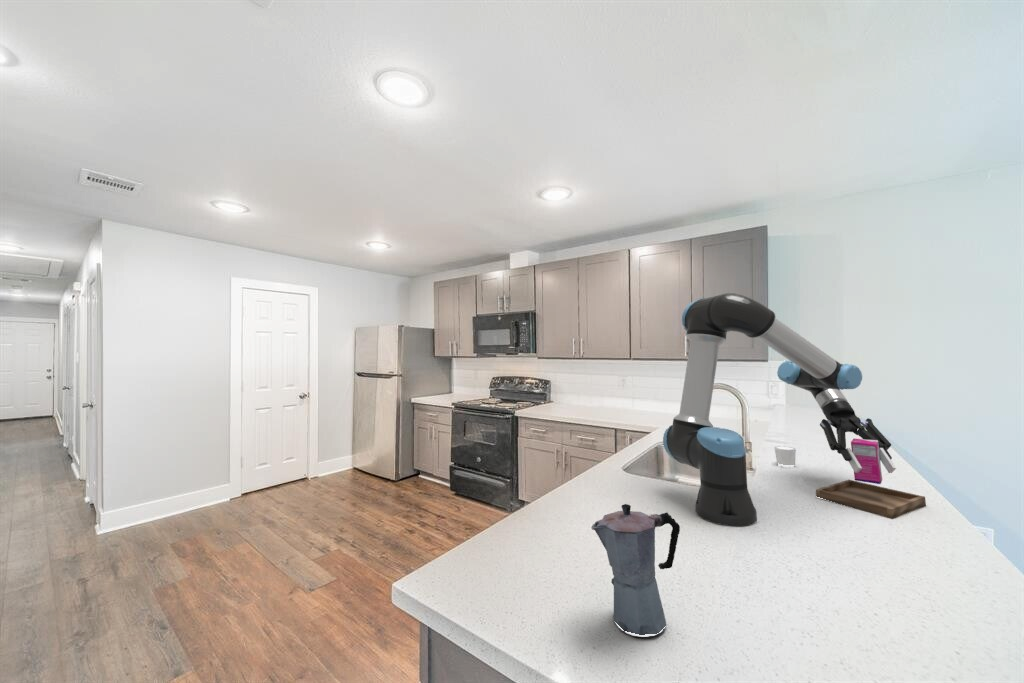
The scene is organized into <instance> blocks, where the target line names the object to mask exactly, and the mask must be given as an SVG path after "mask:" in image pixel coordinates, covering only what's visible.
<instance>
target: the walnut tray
mask: <svg viewBox="0 0 1024 683" xmlns="http://www.w3.org/2000/svg"><path fill="white" fill-rule="evenodd" d="M816 496H817V497H820V498H823V499H826V500H829V501H828V502H830V501H832V502H831V503H833V502H835V503H834V504H837V503H838V504H837V505H841V504H842V506H844V505H845V507H848V508H851V507H852V509H856V510H859V511H863V512H867V513H870V514H874V515H877V516H881V517H884V518H888V519H891V520H893V519H896V518H898V517H901V516H904V515H906V514H908V513H911V512H914V511H916V510H918V509H922V508H924V507H926V506H927V502H926V501H927V500H926V496H922V495H919V494H914V493H910V492H905V491H901V490H897V489H892V488H889V487H888V488H887V487H884V486H879V485H874V484H872V483H867V482H862V481H856V480H851V479H846V480H843V481H839V482H836V483H833V484H830V485H826V486H823V487H819V488H815V497H816ZM823 499H822V500H823ZM826 500H825V501H826Z"/></svg>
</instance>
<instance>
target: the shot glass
mask: <svg viewBox="0 0 1024 683" xmlns="http://www.w3.org/2000/svg"><path fill="white" fill-rule="evenodd" d="M796 452H797V449H796V448H795V447H793V446H785V445H783V446H781V445H778V446H774V453H775V459H776V464H777V463H779V464H783V465H795V466H796V455H797V454H796Z"/></svg>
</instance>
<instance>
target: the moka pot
mask: <svg viewBox="0 0 1024 683" xmlns="http://www.w3.org/2000/svg"><path fill="white" fill-rule="evenodd" d="M620 507H621V509H622V510H617V511H615V512H614V511H613V512H610V513H607V514H604V515H603V517H602V519H598V520H596V521H595V523H593V524H592V525H591V530H592V531H594V532H595V533H596V535H597V536H598V539H599V541H600V542H601V544H602V546H603V547H604V549H605V551H606V556H607V559H608V562H609V566H610V567H611V571H612V575H613V578H611V584H612V585H613V622H614V621H615V622H616V623H617V624H618V625H619V626H620V627H621V628H622V629H623V630H624V631H627V632H631V633H635V634H639V635H645V634H657V633H659V632H660V631H661V630H662V629H663V628H664V627H665V626H666V627H667V620H666V617H665V616H666V615H665V612H664V608H663V602H662V599H661V596H660V595H661V594H660V593H659V586H658V582H657V579H656V565H655V561H656V556H655V555H656V528H657V527H658V528H660V527H663V526H664V525H666V524H667V525H668V524H669V525H670V526H671V527H672V528H671V532H670V541H669V546H668V554H667V558H666V560H665V562H660V563H658V565H657V566H658V567H659V569H660V570H665V569H671V568H673V565H674V563H673V562H674V560H675V554H676V549H677V544H678V539H679V535H680V532H681V530H680V529H681V526H680V524H679V523H678V522H677V521H676V519H675V518H673V517H672V515H671V514H669V513H668V511H666V512H664V513H661V514H660V513H659V514H658V513H656V514H655V513H654V514H650V515H648V514H646V513H644V512H641V511H633V510H632V511H631V505H630V504H627V503H625V504H622V505H621V506H620ZM666 627H665V628H666Z"/></svg>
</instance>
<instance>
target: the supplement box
mask: <svg viewBox="0 0 1024 683" xmlns="http://www.w3.org/2000/svg"><path fill="white" fill-rule="evenodd" d="M850 446H851V447H850V449H851V451H852V452H853V454H854V455H855V457H856V459H857V460H858V462H859V464H860V465H861V467H862V469H861V470H860V471H859V472H858V473H855V472H854V471H853V476H854V481H857V482H862V483H868V484H876V485H881V484H882V481H883V475H882V466H881V464H882V463H881V460H880V454H879V445H878V440H866V439H862V438H853V439H852V440H851V441H850Z"/></svg>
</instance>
